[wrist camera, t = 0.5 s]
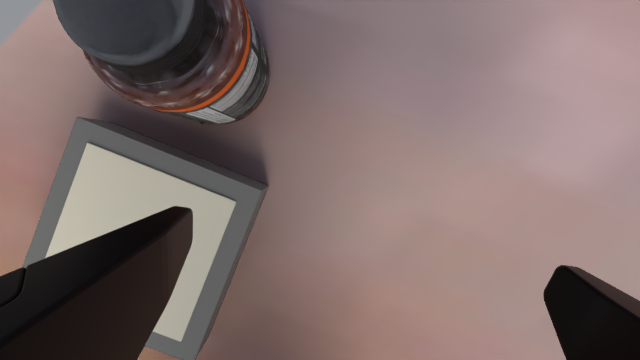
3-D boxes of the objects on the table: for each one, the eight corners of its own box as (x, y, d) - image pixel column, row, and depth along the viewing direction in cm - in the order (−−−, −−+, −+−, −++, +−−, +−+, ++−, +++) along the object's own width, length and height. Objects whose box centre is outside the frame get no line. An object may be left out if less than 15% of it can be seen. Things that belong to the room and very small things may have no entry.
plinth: (208, 335, 23) (191, 365, 19) (52, 276, 22) (9, 297, 19) (268, 185, 22) (261, 191, 19) (109, 121, 21) (74, 116, 18)
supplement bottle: (147, 68, 21) (-37, -28, 10) (225, 0, 21) (126, -175, 10) (215, 146, 22) (111, 140, 10) (292, 81, 22) (271, 3, 10)
